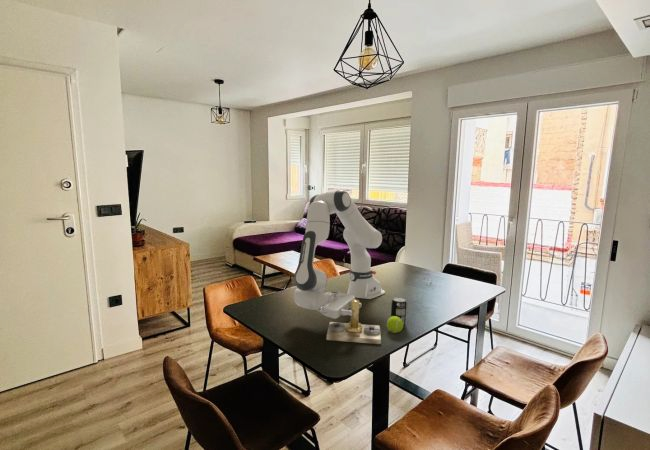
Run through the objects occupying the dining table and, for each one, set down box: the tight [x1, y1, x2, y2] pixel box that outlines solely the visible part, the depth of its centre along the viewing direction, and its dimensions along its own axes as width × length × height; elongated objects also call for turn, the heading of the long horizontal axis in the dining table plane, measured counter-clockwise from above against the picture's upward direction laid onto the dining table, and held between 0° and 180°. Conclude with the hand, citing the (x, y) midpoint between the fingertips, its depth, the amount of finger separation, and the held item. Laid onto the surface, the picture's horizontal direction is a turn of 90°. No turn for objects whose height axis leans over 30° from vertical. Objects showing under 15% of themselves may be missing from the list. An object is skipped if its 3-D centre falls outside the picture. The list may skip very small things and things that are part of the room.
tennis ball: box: [386, 316, 404, 334], centre depth 148 cm, size 7×7×7 cm
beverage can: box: [390, 296, 407, 327], centre depth 156 cm, size 7×7×12 cm
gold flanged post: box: [346, 298, 362, 333], centre depth 144 cm, size 7×7×13 cm
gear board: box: [326, 321, 382, 345], centre depth 145 cm, size 22×13×4 cm, turn 83°
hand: (356, 309), depth 143 cm, fingers open, 8 cm apart
